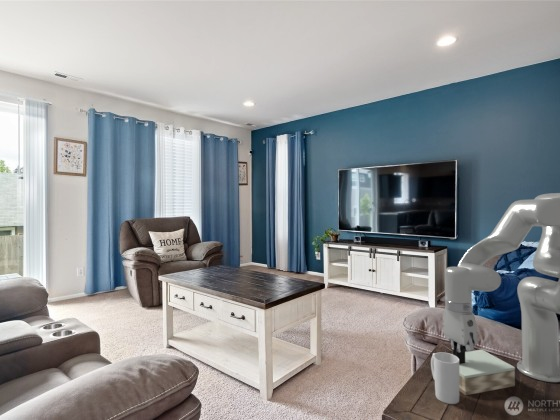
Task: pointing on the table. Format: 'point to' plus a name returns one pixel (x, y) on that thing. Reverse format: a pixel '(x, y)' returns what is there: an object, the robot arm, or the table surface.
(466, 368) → the lid
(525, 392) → the table surface
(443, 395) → the mug
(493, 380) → the beige box
